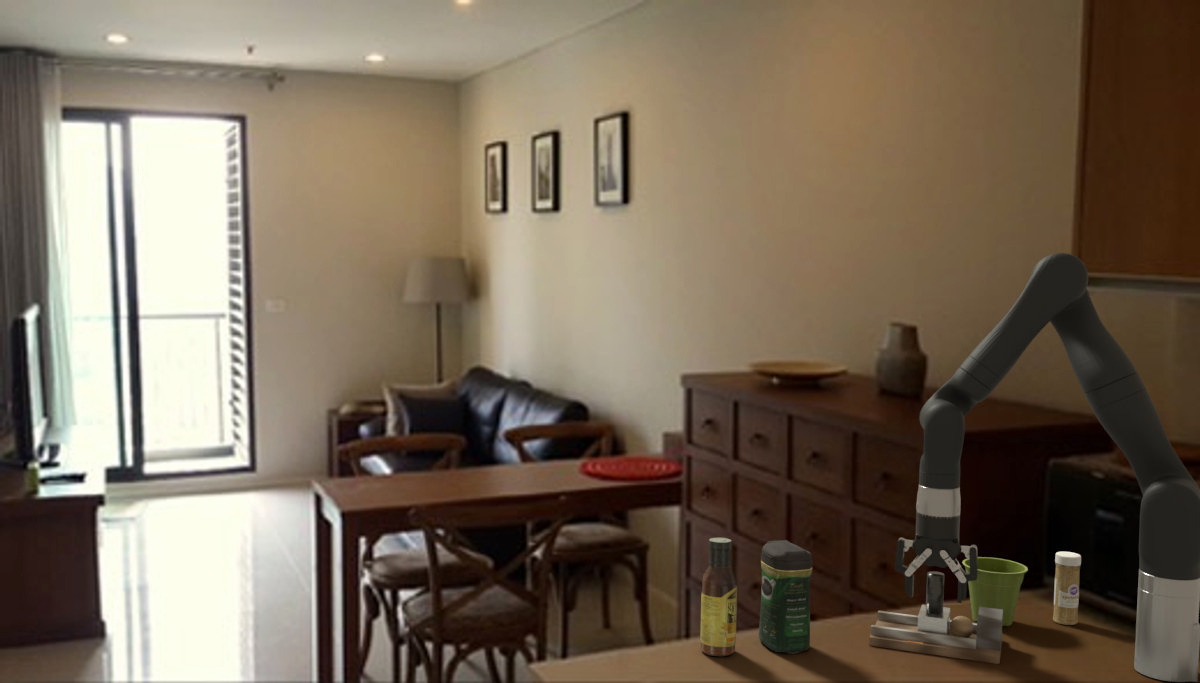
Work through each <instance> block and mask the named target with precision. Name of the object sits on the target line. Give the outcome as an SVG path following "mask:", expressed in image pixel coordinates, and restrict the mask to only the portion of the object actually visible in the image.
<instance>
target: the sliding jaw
mask: <svg viewBox="0 0 1200 683" xmlns="http://www.w3.org/2000/svg"><path fill="white" fill-rule="evenodd" d="M944 591H945V573H943V572H940V571H927V573H926V597H925V604H921V607H920V609H919V612H918V615H917V616H918V631H920V632H928V633H935V634H942V635H948V633H949V629H950V620H951V607H945V606H944V597H945V596H944V595H945V593H944Z"/></svg>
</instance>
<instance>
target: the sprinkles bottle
mask: <svg viewBox="0 0 1200 683" xmlns="http://www.w3.org/2000/svg"><path fill="white" fill-rule="evenodd" d="M1054 557H1055V559H1054V562H1055V572H1054V573H1055V575H1054V589H1053V590H1054V591H1053V615H1052V616H1053V617H1052V620H1053V621H1054V623H1056V624H1059V625H1066V626H1073V625H1077V624H1078V623H1079V620H1078V611H1079V610H1078V609H1079V604H1080V603H1079V599H1080V569H1081V564H1082V555H1081V554H1080V553H1076V552H1071V551H1066V550H1065V551H1061V550H1060V551H1057V552H1056V553H1055V556H1054Z"/></svg>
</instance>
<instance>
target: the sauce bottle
mask: <svg viewBox="0 0 1200 683" xmlns="http://www.w3.org/2000/svg"><path fill="white" fill-rule="evenodd" d="M732 548H733V541H732V539H730V538H727V537H711V538H709V540H708V549H709V557H708V558H709V560H708V564H709V565H708V566H707V568H706V570H705V571H704V573H703V575H702V580H701V584H702V588H701V593H700V594H701V598H700V600H701V601H700V637H699V638H700V639H699V640H700V650H701V652H703V654H706V655H707V656H713V657H726V656H730V655H733V654H734V652H735V649H736V644H737V616H738V615H737V612H738V611H737V610H738V608H737V607H738V582H737V580H736V577H735V574H734V570H733V567H732V565H731V564H732V560H731V558H732V557H731V556H732V554H731V552H732Z"/></svg>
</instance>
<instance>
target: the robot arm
mask: <svg viewBox="0 0 1200 683" xmlns="http://www.w3.org/2000/svg"><path fill="white" fill-rule="evenodd" d="M1088 284H1089V272H1088V269H1087V267H1086V264H1085V263H1084V262H1083V261H1082V259H1080V258H1079V257H1078V256H1076V255H1075V254H1072V253H1071V254H1070V253H1067V252H1057V253H1052V254H1049V255H1047V256H1045V257H1043V258H1042V259H1040V260H1039V261H1038V262H1037V263H1036V264H1035V266H1034V267H1033V269H1032V271H1031V273H1030V276H1029V280H1028V281H1027V283H1026V285H1025V287H1024V288H1023V290H1022V292H1021V294H1020V295H1019V296H1018V298H1017V300H1015V302H1014V304H1013V305H1012V306H1011V308H1010V309H1009V311H1008V312H1006V314H1005V315H1004V316H1003V318H1001V320H1000V321H999V322H998V323H997V324H996V325H995V326H994V327H993V329H992V330H991V331H990V332H988V334H987V335H986V336H985V337H984V338H983V339H982V340H981V341H980V342H979V344H978V345H977V346H975V348H974V349H973V350H972V352H970V354H969V355H968V356H967V357H966V359H964V361H963V362H962V363H961V365H960V366H959V367H958V368H957V369H956V371H955V373H954V374H953V375H952V377H951V378H949V379H948V380H947V381H946V382H945V383H944V384H943V385H942V386H941V387H939V389H938V390H937V391H936V392H934V393H933V394H932V396H930V398H929V399H927V400H926V402H925V404H924V405H923V406H922V408H921V410H920V412H919V423H920V426H921V428H922V430H923V453H922V455H921V457H920V461H919V462H920V463H919V474H918V476H919V478H918V488H917V489H918V490H917V495H916V504H915V509H916V514H915V515H916V516H915V519H916V520H915V536H914V539H906V538H905V537H903V536H901V537H899V538H898V540H897V542H896V549H895V550H896V551H895V560H894V561H895V563H894V571H895V572H897V573H900V574H902V575H903V576H904V592H905V593H906V594H907V595H908V597H909V598H913V596H914V586H915V585H914V584H915V574H914V572H916V571H917V570H918V569H919V568H920V566H922V565H926V567H938V568H941V569H942V568H943V569H945V568H946V567H949V569H950V570H951V572H952V573H953V574H954V575H955V576H956V578H957V579H958V581H957V582H958V583H957V598H956V600H957V602H956V603H959V604H962V602H963V601H965V600H966V599H967V598H966V597H967V585H968V581H975V580H977V576H978V558H977V557H978V545H976V544H971V545H970V546H969V545H962V544H961V542H960V528H961V527H960V524H961V523H960V522H961V491H960V490H961V487H960V486H961V456H962V453H963V446H964V440H965V432H966V423H965V417H966V416H967V415H968V414H969V413H970V411H971V410H972V409H973V408H974V407H975V406H976V405H977V404H978V403H981V402H983V401H985V400H986V399H987V398H988V397H989V396H990V395H991V394H992V392H993V391H994V390H995V389H996V388H997V387H998V386H999V385H1000V383H1001V382H1002V381H1003V380H1004V379H1005V377H1007V375H1008V373H1009V372H1010V370H1012V368H1014V366H1015V364H1016V363H1017V361H1019V359H1020V358H1021V356H1022V355H1023V353H1024V352H1025V351H1026V350H1027V348H1028V347H1029V345H1030V344H1031V343H1032V342H1033V340H1034V339H1035V338H1036V337H1037V336H1038V334H1039V333H1040V332H1041V331H1042V330H1043V329H1045V327H1046V326H1047V325H1048V324H1049V323H1050V324H1051V325H1052V327H1053V329H1054V330H1055V332H1056V333H1057V335H1058V336H1059V338H1060V340H1061V341H1060V342H1062V345H1063V346H1064V349H1065V352H1066V355H1067V358H1068V360H1069V363H1070V366H1071V367H1072V370H1073V373H1074V375H1075V377H1076V379H1077V381H1078V384H1079V386H1080V388H1081V391H1082V392H1083V394H1084V396H1085V398H1086V401H1087V403H1088V405H1089V407H1090V408H1091V410H1092V412H1093V414H1094V415H1095V417H1096V418H1097V421H1099V423H1100V425H1101V426H1102V428H1103V429H1104V431H1106V433H1107V434H1108V435H1109V437H1110V438H1111V439H1112V440H1113V442H1114V443H1115V444H1116V445H1117V447H1118V448H1119V449H1120V451H1121V452H1122V453H1123V455H1124V456H1125V458H1126V460H1127V461H1128V462H1129V465H1130V467H1131V469H1132V471H1133V472H1134V475H1135V478H1136V480H1137V482H1138V485H1139V488H1140V490H1141V494H1142V498H1141V503H1140V509H1139V512H1140V513H1139V532H1138V533H1139V537H1138V556H1139V559H1138V560H1139V562H1138V563H1139V566H1138V567H1139V568H1138V580H1137V581H1138V585H1137V586H1138V587H1137V602H1136V603H1137V605H1136V623H1135V641H1134V642H1135V644H1134V657H1133V658H1134V662H1133V664H1134V667H1133V668H1134V669H1135V671H1136V672H1138V673H1139V674H1142V676H1143V675H1144V676H1145V677H1149V678H1152V679H1155V680H1159V681H1165V682H1170V683H1171V682H1172V683H1173V682H1175V683H1185V682H1192V683H1198V679H1199V661H1200V623H1199V619H1200V617H1199V616H1200V615H1199V614H1200V487H1199V485H1198V484H1197V482H1196V481H1195V479H1194V478H1193V477H1192V475H1191V473H1190V472H1189V471H1188V470H1187V468H1186V467H1185V465H1184V463H1183V461H1182V460H1181V459H1180V457H1179V455H1178V454H1177V452H1176V451H1175V449H1174V448H1173V445H1172V444H1171V442H1170V440H1169V437H1168V436H1167V433H1166V431H1165V428H1164V426H1163V423H1162V421H1161V417H1160V415H1159V412H1158V411H1157V409H1156V405H1155V404H1154V402H1153V400H1152V399H1151V396H1150V394H1149V391H1148V390H1147V388H1146V385H1145V383H1144V382H1143V379H1142V378H1141V376H1140V374H1139V372H1138V370H1137V369H1136V367H1135V365H1134V363H1133V362H1132V360H1131V359H1130V357H1129V356H1128V354H1127V352H1125V350H1124V349H1123V348H1122V346H1121V345H1120V344H1119V343H1118V342H1117V340H1116V339H1115V338H1114V336H1112V334H1111V333H1110V332H1109V330H1108V329H1107V328H1106V326H1105V325H1104V323H1103V322H1102V320H1101V318H1100V316H1099V315H1098V313H1097V310H1096V308H1095V305H1094V303H1093V301H1092V298H1091V297H1090V293H1089V291H1088ZM911 547H912V549H913V550H914V551H915V553H916V557H915V558H914V559H913V561H911V563H909V565H905V564H904V561H905V560H904V559H905V552H908V551H909V549H910V548H911ZM961 553H963V554H964V556H965V559H970V572H968V573H966V571H965V570H964V569H963V568H962V565H961V564H960V562H959V560H958V559H957V557H959V555H960V554H961Z"/></svg>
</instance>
